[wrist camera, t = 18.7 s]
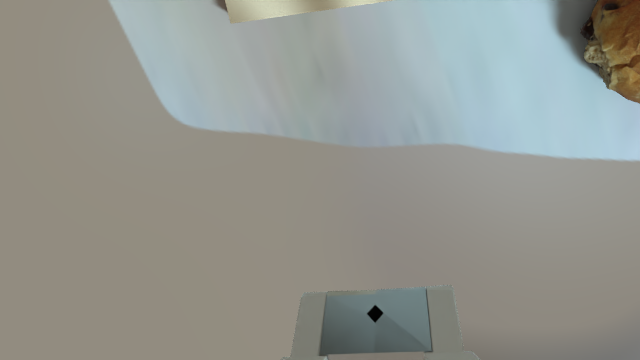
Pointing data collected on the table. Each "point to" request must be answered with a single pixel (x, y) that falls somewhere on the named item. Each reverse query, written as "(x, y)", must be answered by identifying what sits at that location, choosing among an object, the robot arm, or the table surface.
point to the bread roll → (615, 45)
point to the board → (283, 7)
